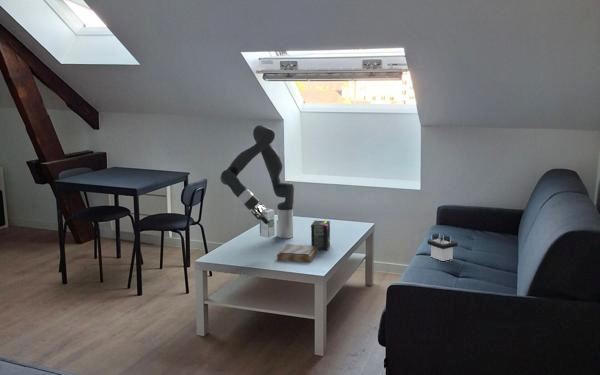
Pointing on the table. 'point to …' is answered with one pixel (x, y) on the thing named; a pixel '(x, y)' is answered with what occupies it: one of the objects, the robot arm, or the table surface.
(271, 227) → the syrup box
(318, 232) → the tampon box
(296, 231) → the table surface
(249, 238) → the table surface
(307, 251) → the brown wooden flat block
